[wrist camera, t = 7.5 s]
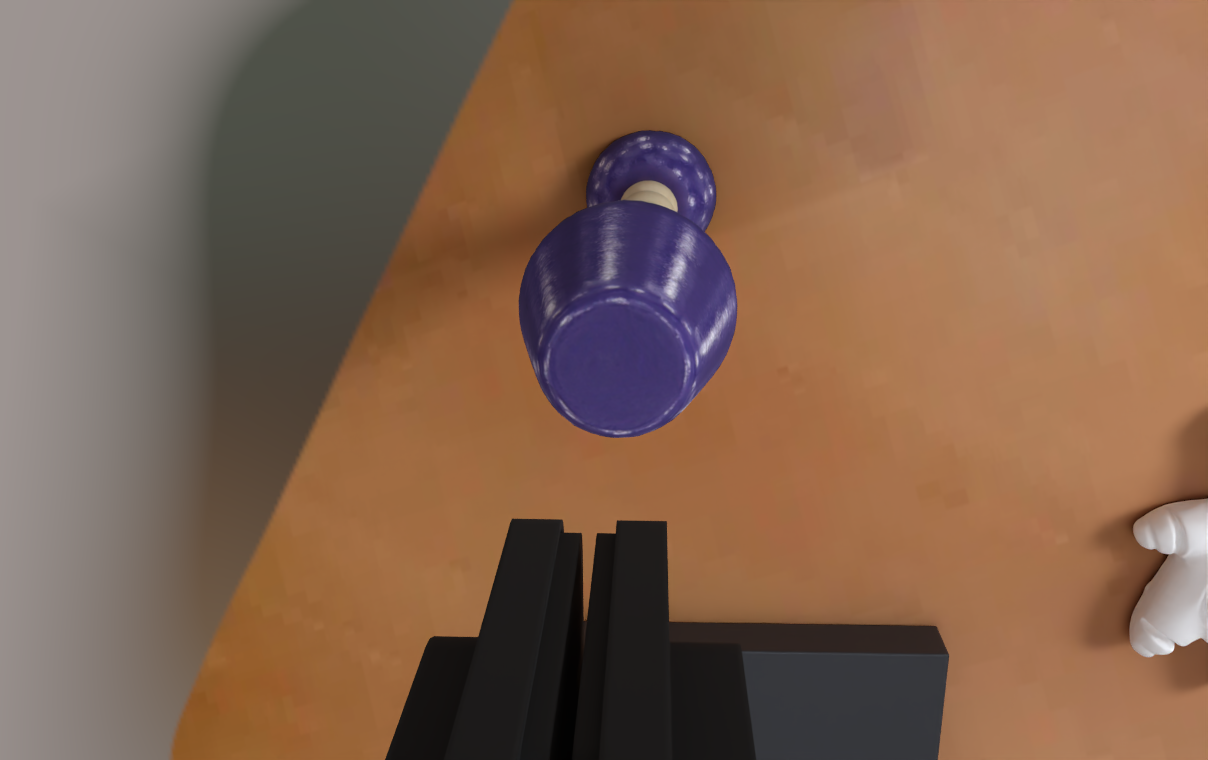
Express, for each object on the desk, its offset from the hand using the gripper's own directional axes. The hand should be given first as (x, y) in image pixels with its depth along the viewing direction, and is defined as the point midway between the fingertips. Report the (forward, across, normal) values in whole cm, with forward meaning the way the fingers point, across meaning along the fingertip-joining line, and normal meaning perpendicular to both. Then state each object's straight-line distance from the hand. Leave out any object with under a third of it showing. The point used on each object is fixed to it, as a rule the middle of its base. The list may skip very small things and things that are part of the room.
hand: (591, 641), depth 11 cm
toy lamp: (+25, 0, 0) cm, 25 cm away
